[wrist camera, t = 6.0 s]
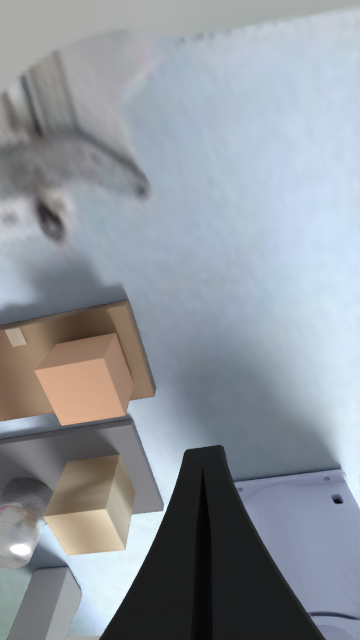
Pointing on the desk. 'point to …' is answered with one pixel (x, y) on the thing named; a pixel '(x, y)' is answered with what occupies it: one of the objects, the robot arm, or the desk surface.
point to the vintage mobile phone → (47, 606)
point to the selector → (86, 379)
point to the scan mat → (81, 457)
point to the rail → (45, 332)
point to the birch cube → (92, 506)
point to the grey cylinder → (21, 520)
